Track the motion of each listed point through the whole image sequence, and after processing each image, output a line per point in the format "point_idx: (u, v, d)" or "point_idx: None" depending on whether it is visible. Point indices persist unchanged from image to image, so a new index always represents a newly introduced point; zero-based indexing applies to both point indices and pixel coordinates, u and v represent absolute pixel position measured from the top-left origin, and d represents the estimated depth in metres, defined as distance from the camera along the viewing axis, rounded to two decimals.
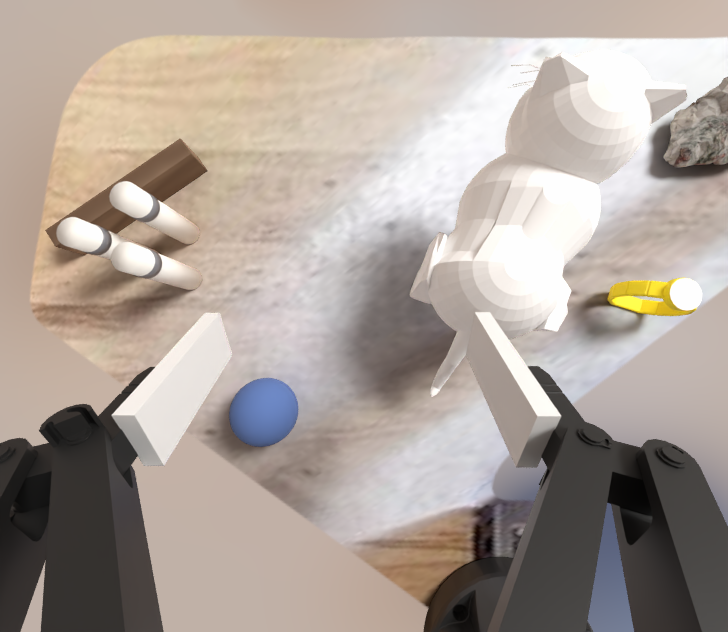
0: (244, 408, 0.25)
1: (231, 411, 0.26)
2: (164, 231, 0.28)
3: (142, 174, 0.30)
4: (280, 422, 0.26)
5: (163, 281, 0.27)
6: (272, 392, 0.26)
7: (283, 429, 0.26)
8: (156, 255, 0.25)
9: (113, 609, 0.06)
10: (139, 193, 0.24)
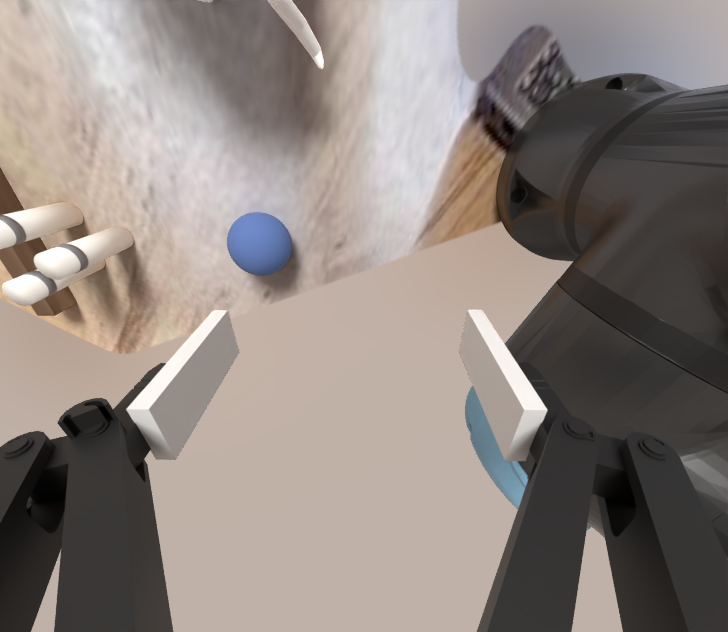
0: (239, 255, 0.27)
1: (240, 267, 0.29)
2: (50, 229, 0.28)
3: None
4: (268, 235, 0.27)
5: (102, 255, 0.29)
6: (239, 227, 0.27)
7: (277, 237, 0.28)
8: (62, 245, 0.26)
9: (124, 602, 0.06)
10: None
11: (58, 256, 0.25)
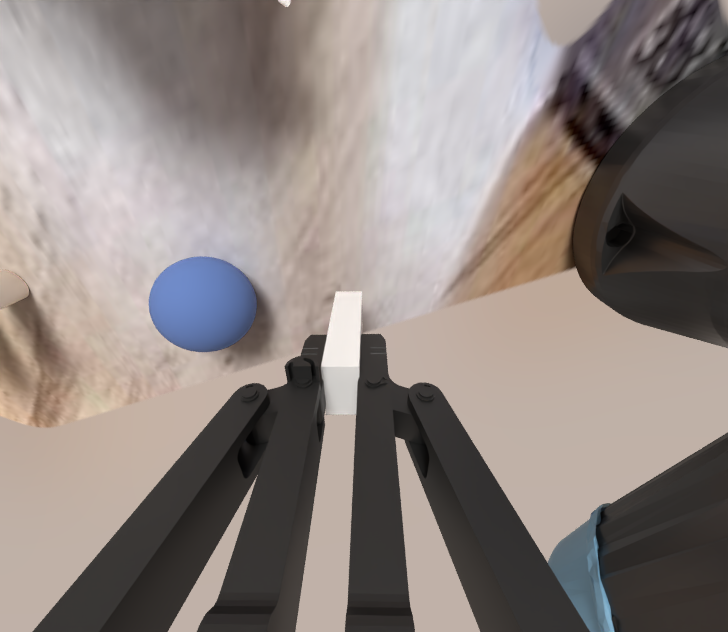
0: (164, 329, 0.17)
1: None
2: None
3: None
4: (211, 299, 0.17)
5: None
6: (163, 285, 0.16)
7: (227, 300, 0.17)
8: None
9: (279, 562, 0.06)
10: None
11: None
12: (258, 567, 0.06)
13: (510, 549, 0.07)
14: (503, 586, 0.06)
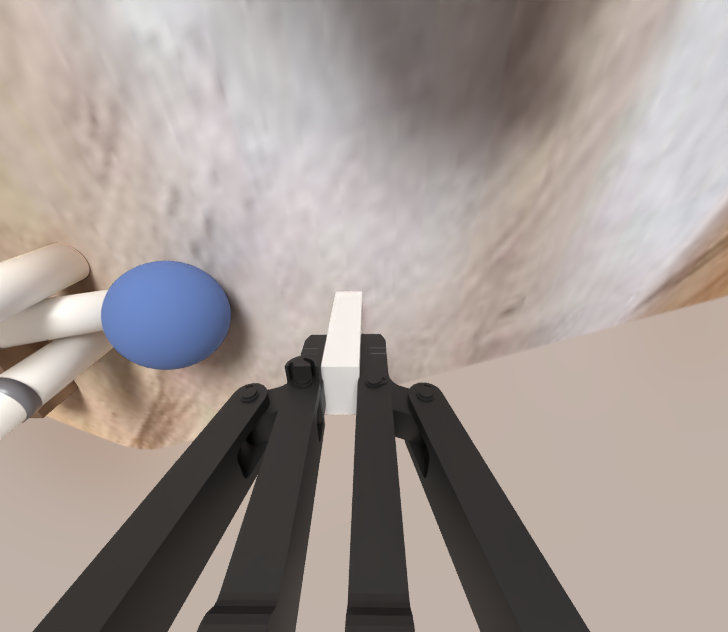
0: (229, 311, 0.18)
1: (222, 340, 0.17)
2: (29, 301, 0.15)
3: None
4: None
5: (33, 337, 0.17)
6: (202, 276, 0.16)
7: None
8: None
9: (279, 562, 0.06)
10: None
11: None
12: (258, 567, 0.06)
13: (511, 549, 0.07)
14: (503, 586, 0.06)
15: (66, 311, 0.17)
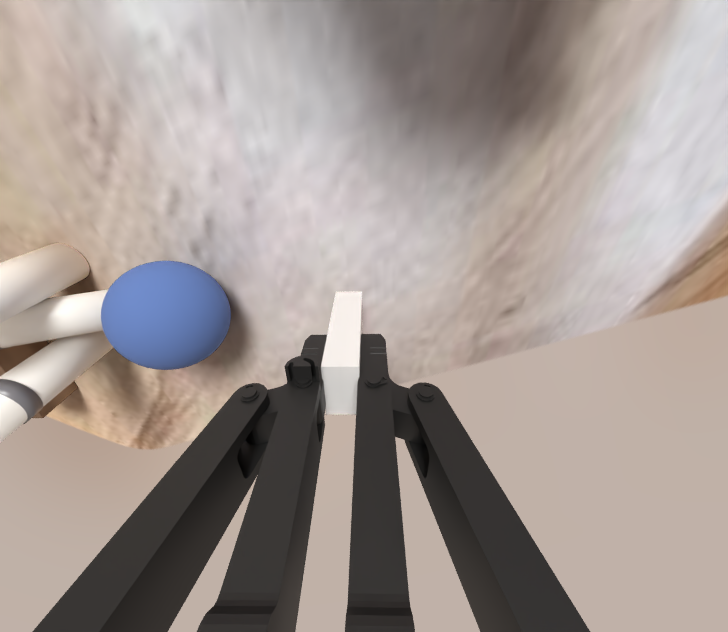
0: (229, 311, 0.18)
1: (222, 340, 0.17)
2: (30, 301, 0.15)
3: None
4: None
5: (33, 337, 0.17)
6: (202, 276, 0.16)
7: None
8: None
9: (279, 562, 0.06)
10: None
11: None
12: (258, 567, 0.06)
13: (511, 549, 0.07)
14: (503, 586, 0.06)
15: (66, 311, 0.17)
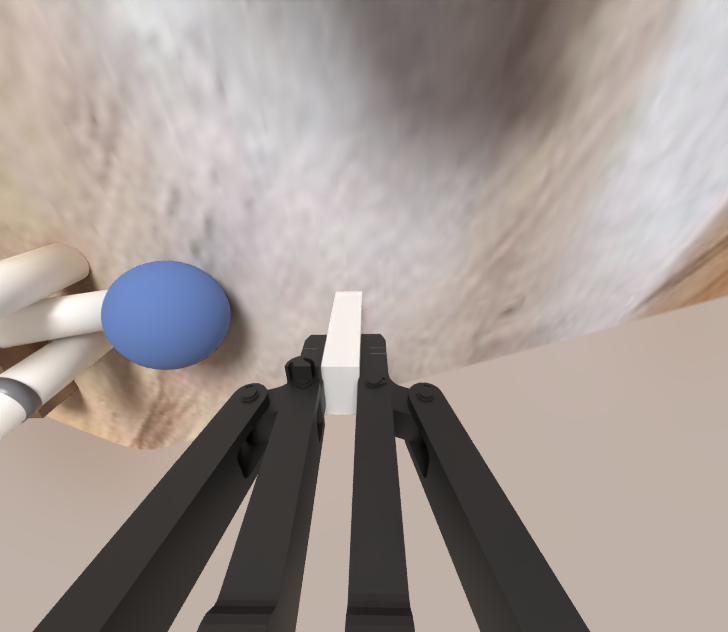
0: (229, 311, 0.18)
1: (222, 340, 0.17)
2: (29, 299, 0.15)
3: None
4: None
5: (33, 337, 0.17)
6: (202, 276, 0.16)
7: None
8: None
9: (279, 562, 0.06)
10: None
11: None
12: (258, 567, 0.06)
13: (511, 549, 0.07)
14: (503, 586, 0.06)
15: (66, 311, 0.17)
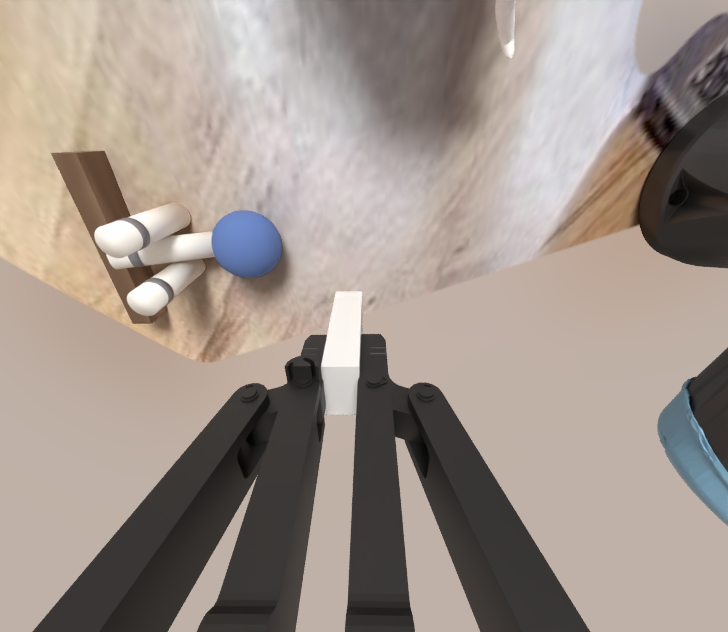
0: (281, 244, 0.28)
1: (277, 262, 0.28)
2: (166, 232, 0.26)
3: (92, 218, 0.26)
4: None
5: (163, 258, 0.27)
6: (268, 220, 0.27)
7: None
8: None
9: (279, 562, 0.06)
10: (112, 227, 0.21)
11: None
12: (258, 567, 0.06)
13: (510, 550, 0.07)
14: (503, 586, 0.06)
15: (183, 243, 0.28)
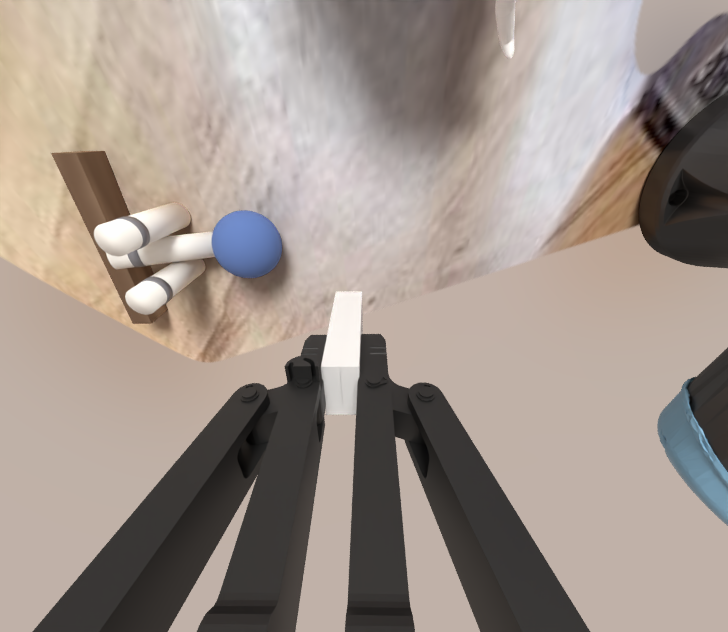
0: None
1: (277, 262, 0.28)
2: (166, 231, 0.26)
3: (92, 218, 0.26)
4: None
5: (163, 258, 0.28)
6: (268, 220, 0.27)
7: None
8: None
9: (279, 562, 0.06)
10: (112, 225, 0.21)
11: None
12: (258, 567, 0.06)
13: (511, 549, 0.07)
14: (503, 586, 0.06)
15: (183, 243, 0.28)
